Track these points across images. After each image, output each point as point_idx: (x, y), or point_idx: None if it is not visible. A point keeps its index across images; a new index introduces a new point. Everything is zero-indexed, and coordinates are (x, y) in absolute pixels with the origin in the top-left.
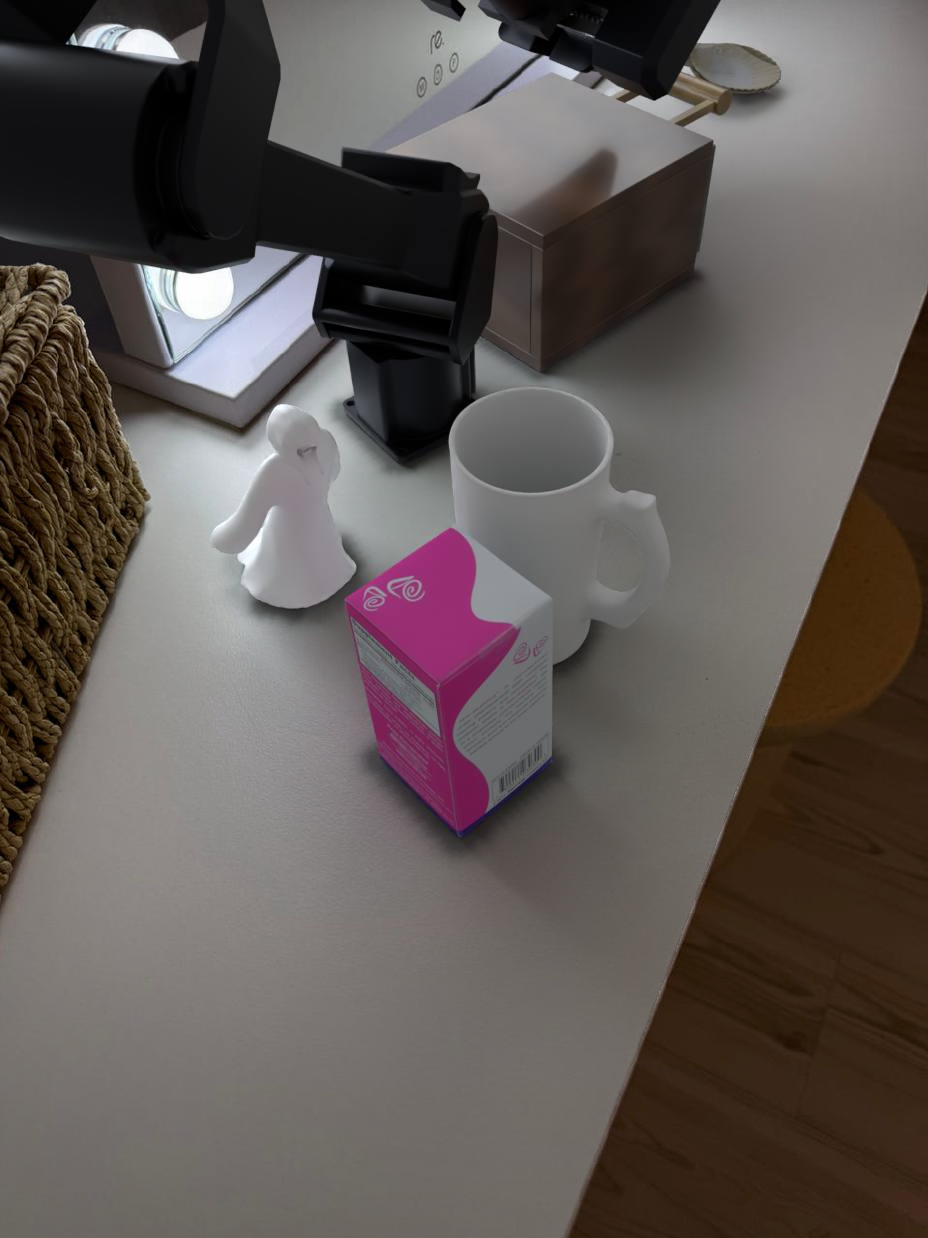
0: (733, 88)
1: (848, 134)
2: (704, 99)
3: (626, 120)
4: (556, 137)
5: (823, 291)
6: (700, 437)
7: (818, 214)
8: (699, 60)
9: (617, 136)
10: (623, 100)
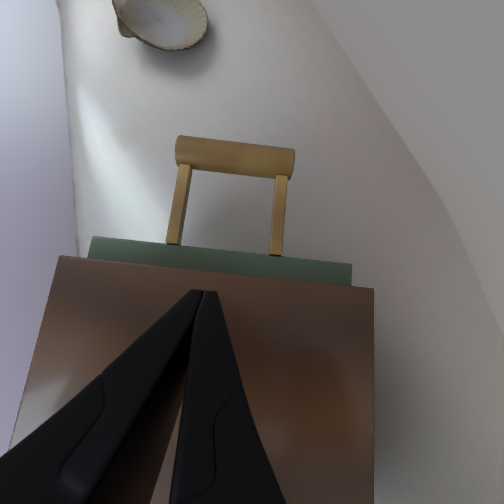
0: (186, 47)
1: (288, 52)
2: (270, 174)
3: (246, 317)
4: None
5: (401, 251)
6: (453, 487)
7: (336, 162)
8: (129, 18)
9: (264, 366)
10: (182, 228)
